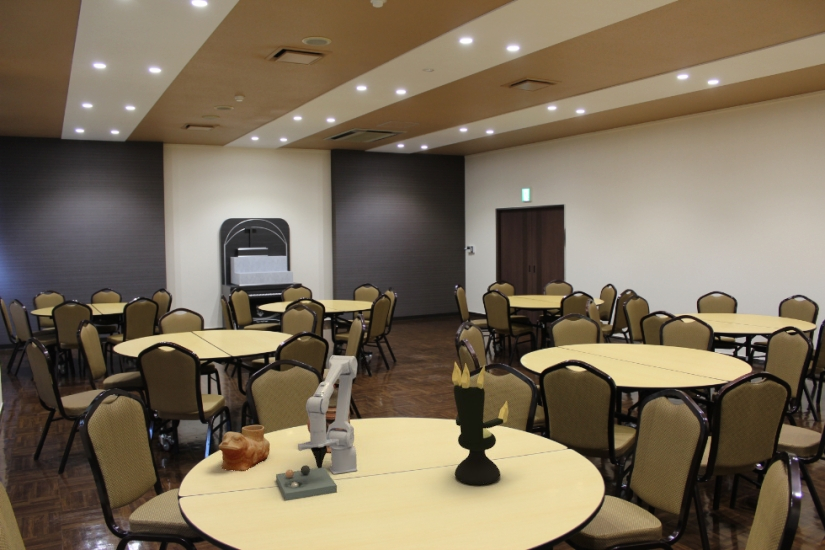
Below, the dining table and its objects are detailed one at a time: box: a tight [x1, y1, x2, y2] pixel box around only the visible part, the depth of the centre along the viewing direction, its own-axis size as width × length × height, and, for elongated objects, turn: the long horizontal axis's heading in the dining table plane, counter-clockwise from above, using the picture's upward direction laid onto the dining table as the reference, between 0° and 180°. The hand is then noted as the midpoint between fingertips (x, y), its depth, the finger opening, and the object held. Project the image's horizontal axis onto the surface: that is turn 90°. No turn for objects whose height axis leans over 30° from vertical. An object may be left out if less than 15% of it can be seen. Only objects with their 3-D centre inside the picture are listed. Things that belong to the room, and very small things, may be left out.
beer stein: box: [306, 384, 351, 454], centre depth 279 cm, size 17×28×18 cm
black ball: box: [300, 464, 311, 475], centre depth 241 cm, size 3×3×3 cm
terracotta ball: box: [285, 469, 294, 478], centre depth 238 cm, size 3×3×3 cm
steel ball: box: [290, 482, 299, 487], centre depth 232 cm, size 3×3×3 cm
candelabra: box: [451, 361, 509, 486], centre depth 237 cm, size 19×22×45 cm
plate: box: [275, 466, 338, 501], centre depth 236 cm, size 18×20×2 cm
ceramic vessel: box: [218, 424, 271, 472], centre depth 262 cm, size 14×26×15 cm, turn 158°
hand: (319, 467), depth 235 cm, fingers closed
